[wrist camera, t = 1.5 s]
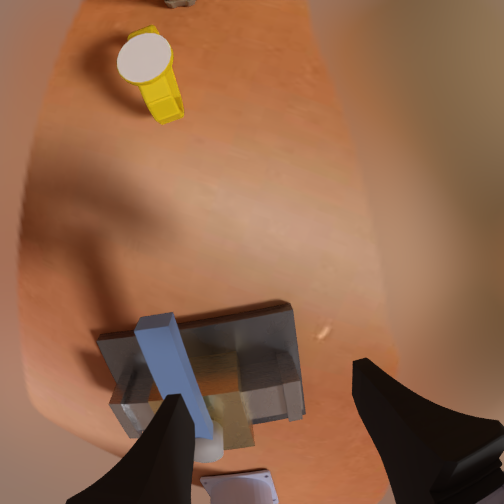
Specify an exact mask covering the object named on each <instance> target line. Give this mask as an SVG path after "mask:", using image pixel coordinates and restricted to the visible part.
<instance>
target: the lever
mask: <svg viewBox="0 0 504 504" xmlns="http://www.w3.org/2000/svg"><path fill="white" fill-rule="evenodd" d="M134 333H135V335H136V338H137V340H138V343H139V345H140V348H141V350H142V353H143V355H144V358H145V360H146V362H147V365H148V367H149V369H150V372H151V374H152V376H153V378H154V381H155V383H156V385H157V387H158V390H159V392H160V394H161V396H162V398H163V400H164V399H165V397H166V396H167V395H169V394H179V393H181V395H182V397H183V399H184V401H185V404H186V406H187V408H188V410H189V413H190V415H191V417H192V419H193V421H194V423H195V453H194V461H196V462H201V463H209V462H214V461H217V460H219V459H220V458H221V457H222V456H223V428H222V426H221V425H220V424H219V423H218V422H216V421H214V420H211V418H210V415H209V413H208V410H207V408H206V405H205V402H204V400H203V397H202V395H201V392H200V389H199V387H198V384H197V381H196V379H195V376H194V373H193V370H192V367H191V365H190V362H189V359H188V356H187V353H186V350H185V347H184V344H183V341H182V338H181V335H180V332H179V329H178V326H177V323H176V320H175V317H174V314H173V312H170V313H164V314H158V315H151V316H145V317H140V319H139V321H138V323H137V325H136V328H135V330H134Z"/></svg>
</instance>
